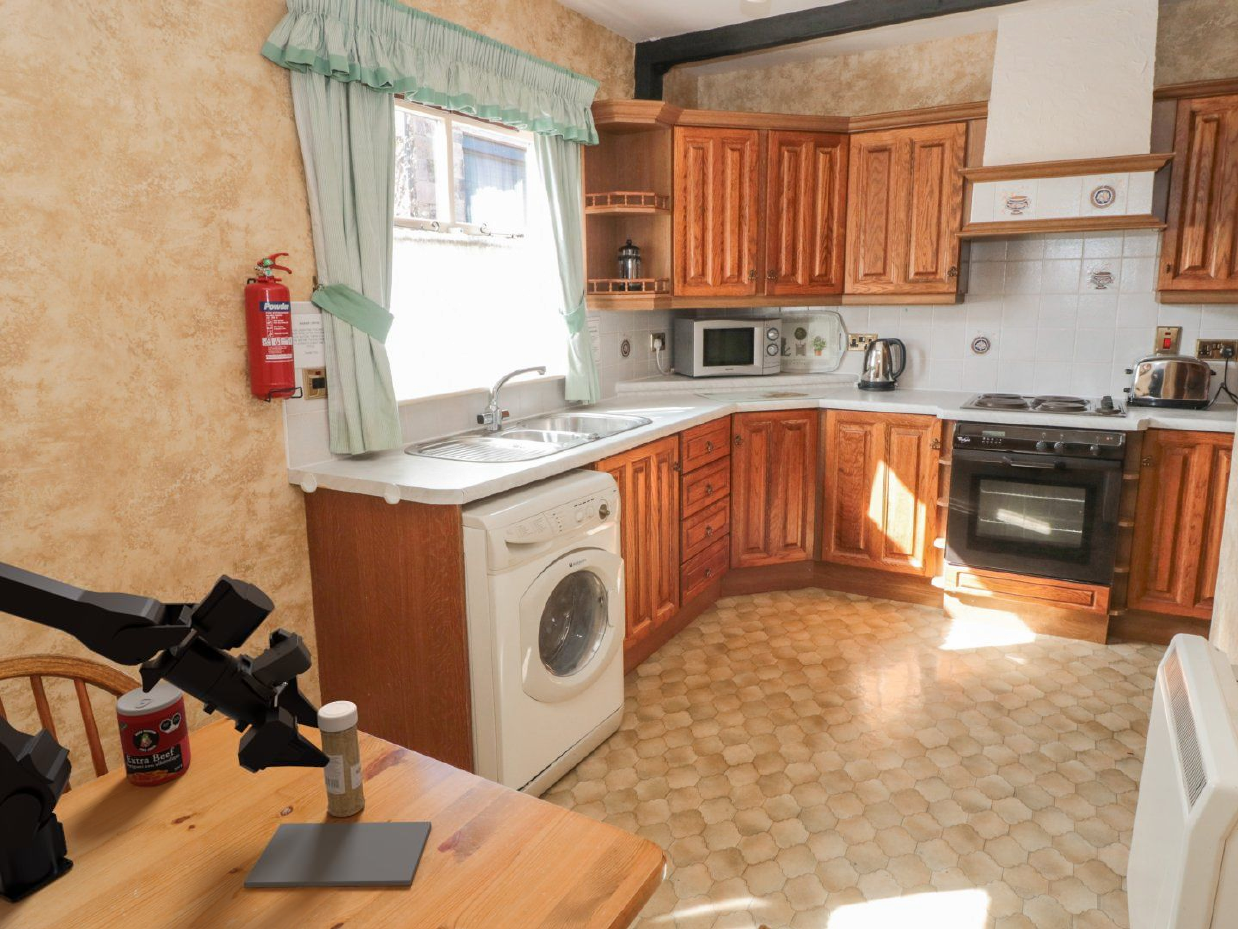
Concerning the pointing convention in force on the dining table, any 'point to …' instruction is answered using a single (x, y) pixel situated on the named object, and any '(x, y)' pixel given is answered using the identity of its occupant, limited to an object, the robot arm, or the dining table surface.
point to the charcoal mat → (341, 855)
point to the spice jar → (341, 758)
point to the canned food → (153, 734)
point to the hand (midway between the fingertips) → (326, 743)
